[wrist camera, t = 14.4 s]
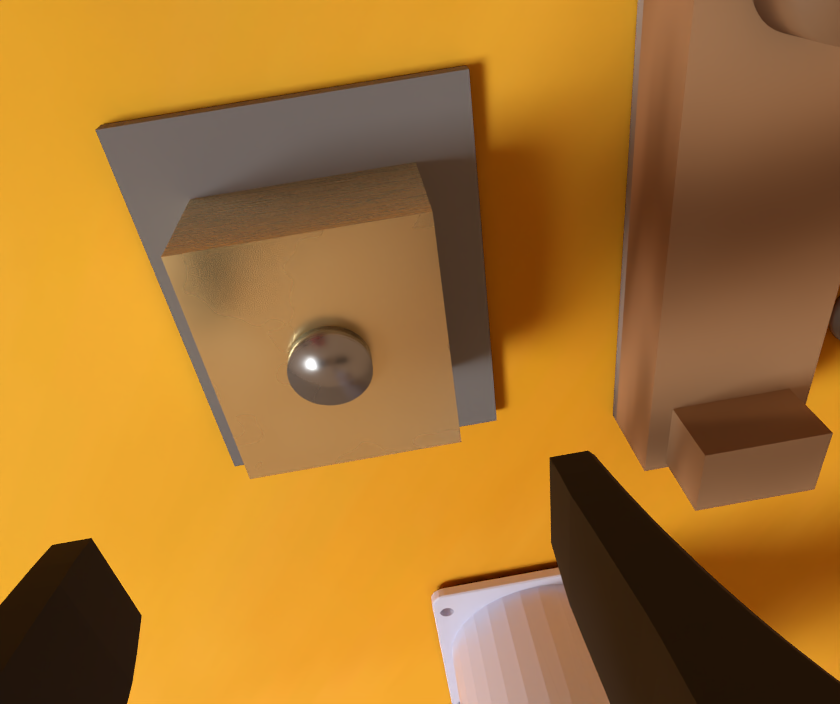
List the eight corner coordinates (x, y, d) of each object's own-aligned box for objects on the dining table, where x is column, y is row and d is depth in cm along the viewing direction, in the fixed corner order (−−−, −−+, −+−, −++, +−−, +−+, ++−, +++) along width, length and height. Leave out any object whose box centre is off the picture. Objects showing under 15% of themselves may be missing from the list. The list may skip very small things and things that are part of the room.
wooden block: (443, 370, 18) (463, 453, 15) (260, 401, 18) (248, 491, 15) (415, 162, 15) (435, 219, 12) (189, 199, 14) (155, 266, 12)
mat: (493, 411, 20) (496, 420, 19) (236, 456, 19) (234, 466, 19) (465, 65, 14) (468, 69, 14) (101, 125, 14) (95, 129, 13)
